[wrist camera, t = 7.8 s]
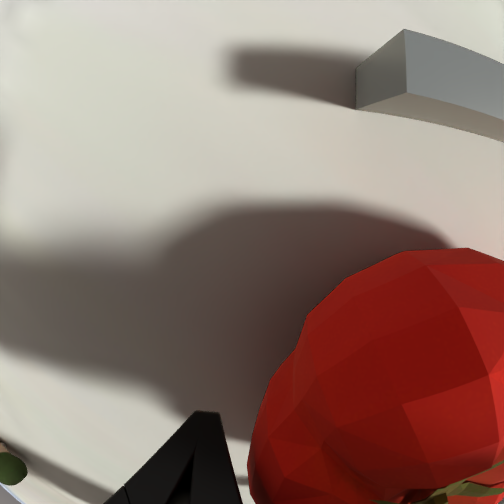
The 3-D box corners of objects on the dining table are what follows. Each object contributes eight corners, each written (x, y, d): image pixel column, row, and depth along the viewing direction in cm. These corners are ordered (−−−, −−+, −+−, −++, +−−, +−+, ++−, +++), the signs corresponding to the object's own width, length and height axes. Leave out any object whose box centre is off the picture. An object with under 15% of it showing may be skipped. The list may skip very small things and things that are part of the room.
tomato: (531, 242, 8) (649, 327, 2) (434, 442, 12) (466, 541, 6) (278, 200, 8) (281, 364, 2) (246, 447, 12) (231, 574, 6)
